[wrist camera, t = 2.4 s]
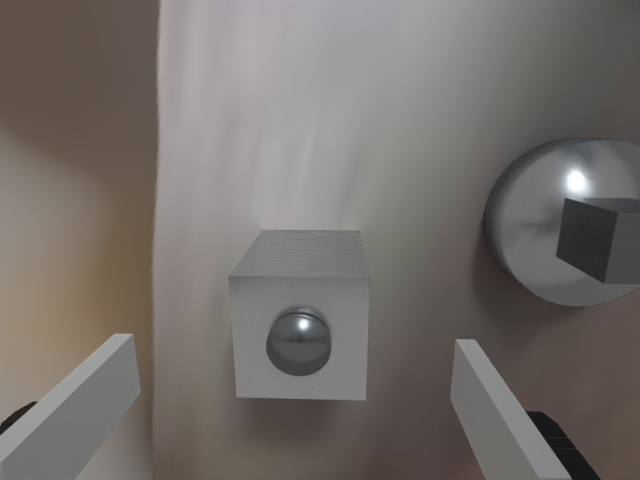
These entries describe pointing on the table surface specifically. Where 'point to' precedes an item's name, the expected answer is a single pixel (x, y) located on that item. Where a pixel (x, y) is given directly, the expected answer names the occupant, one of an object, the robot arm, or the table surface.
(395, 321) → the table surface
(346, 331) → the grey block with knob
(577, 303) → the ratchet
